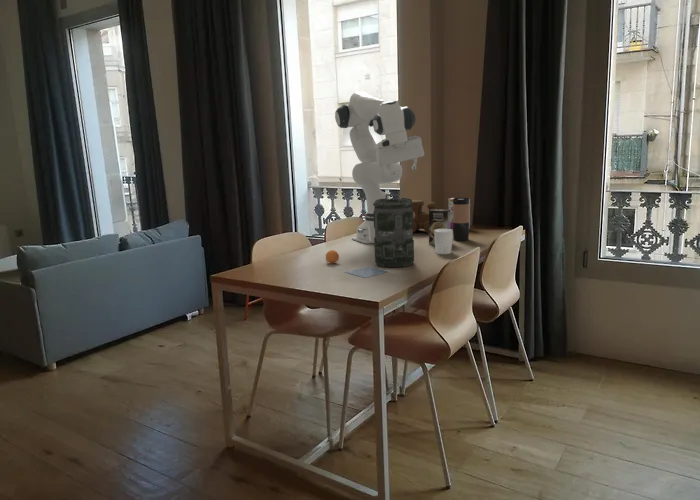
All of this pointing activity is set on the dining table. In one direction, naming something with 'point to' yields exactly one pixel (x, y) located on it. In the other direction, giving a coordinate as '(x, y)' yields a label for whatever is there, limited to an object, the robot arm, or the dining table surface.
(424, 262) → the dining table surface
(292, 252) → the dining table surface
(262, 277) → the dining table surface
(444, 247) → the white cup
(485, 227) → the dining table surface
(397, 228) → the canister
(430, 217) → the coffee box
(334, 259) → the ball
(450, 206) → the candy bar box
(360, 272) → the mark
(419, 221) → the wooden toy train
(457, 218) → the travel mug
